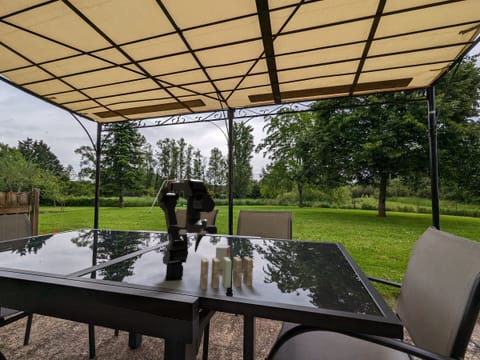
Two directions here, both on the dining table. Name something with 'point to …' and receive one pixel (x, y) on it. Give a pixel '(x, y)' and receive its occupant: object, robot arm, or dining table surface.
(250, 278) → the domino
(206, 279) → the domino
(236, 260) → the domino
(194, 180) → the robot arm
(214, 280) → the domino
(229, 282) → the domino
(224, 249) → the small box
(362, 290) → the dining table surface
